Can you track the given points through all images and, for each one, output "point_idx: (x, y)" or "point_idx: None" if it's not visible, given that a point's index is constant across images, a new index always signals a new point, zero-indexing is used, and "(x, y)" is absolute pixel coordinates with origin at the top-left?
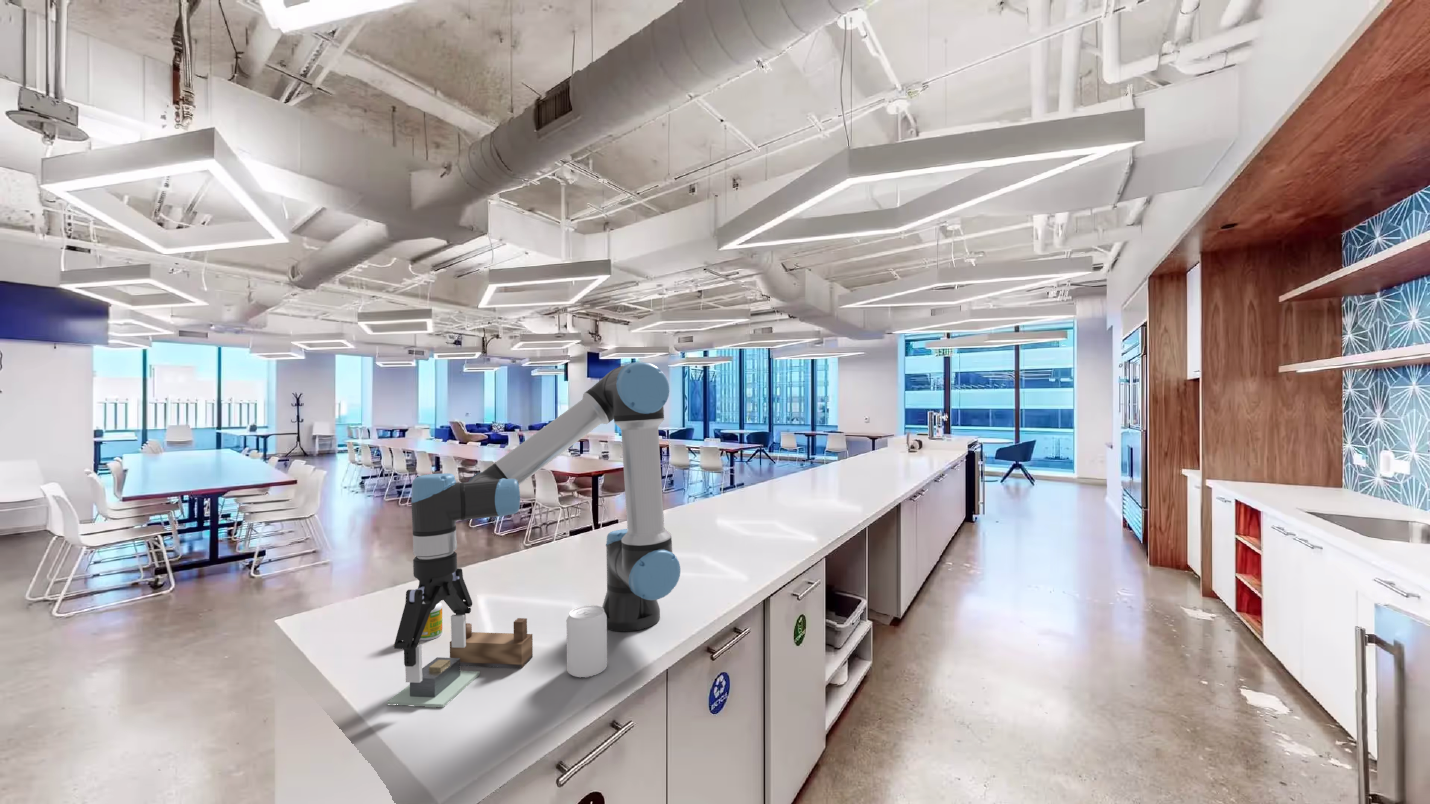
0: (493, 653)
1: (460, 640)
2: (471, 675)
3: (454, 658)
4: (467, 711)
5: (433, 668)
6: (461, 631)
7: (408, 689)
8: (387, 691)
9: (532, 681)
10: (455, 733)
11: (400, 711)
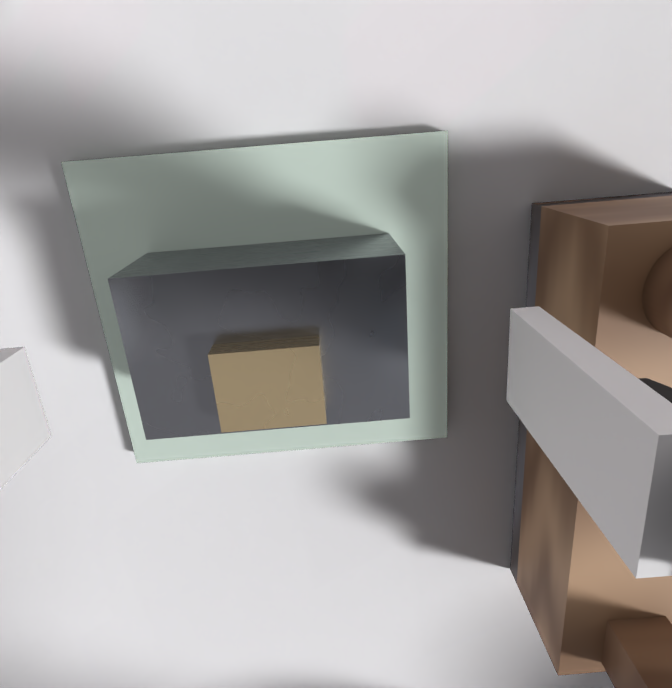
0: (546, 496)
1: (525, 403)
2: (402, 424)
3: (402, 385)
4: (152, 555)
5: (213, 383)
6: (556, 452)
7: (204, 186)
8: (191, 25)
9: (407, 650)
10: (20, 597)
11: (53, 283)
